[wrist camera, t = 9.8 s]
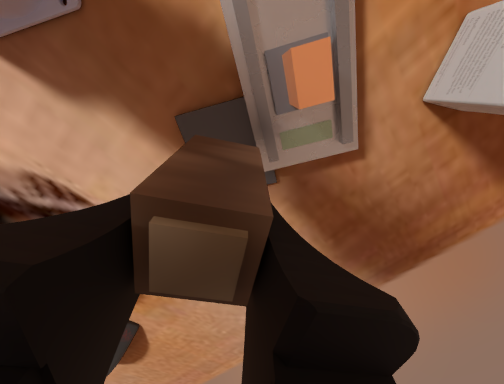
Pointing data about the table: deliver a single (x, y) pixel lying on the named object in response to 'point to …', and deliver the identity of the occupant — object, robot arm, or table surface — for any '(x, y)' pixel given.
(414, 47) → the table surface
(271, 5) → the breaker panel
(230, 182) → the brown rectangular block
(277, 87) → the lever
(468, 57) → the skincare box
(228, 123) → the rubber pad
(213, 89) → the table surface
